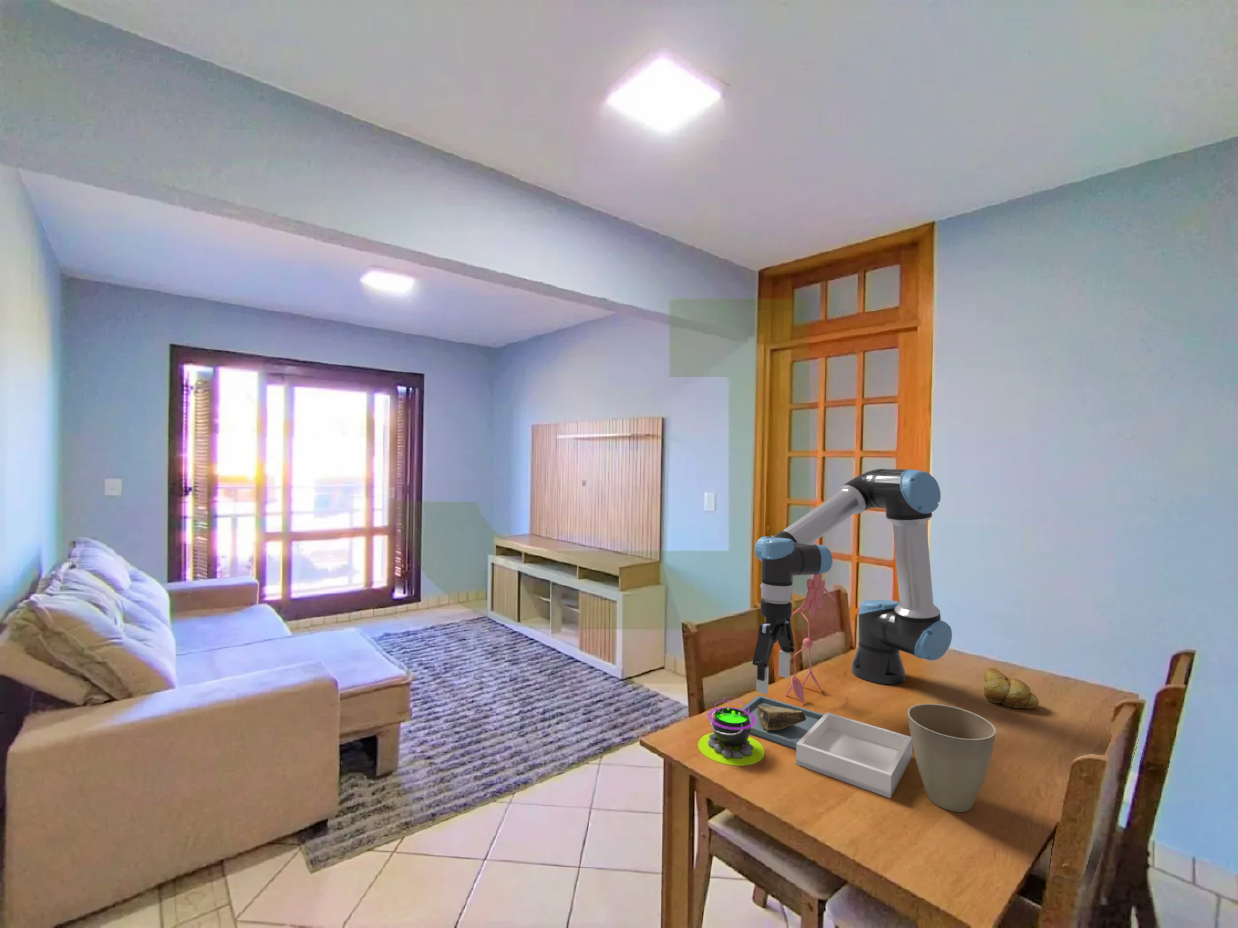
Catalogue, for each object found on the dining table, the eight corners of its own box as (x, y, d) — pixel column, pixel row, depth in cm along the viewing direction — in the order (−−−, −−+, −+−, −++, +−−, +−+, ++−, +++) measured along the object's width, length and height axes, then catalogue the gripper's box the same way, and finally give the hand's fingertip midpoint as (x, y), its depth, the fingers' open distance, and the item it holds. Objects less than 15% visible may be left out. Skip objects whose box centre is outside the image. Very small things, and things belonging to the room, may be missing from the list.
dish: (826, 730, 138) (826, 711, 138) (911, 756, 126) (912, 737, 126) (795, 763, 122) (796, 743, 122) (890, 798, 110) (891, 775, 110)
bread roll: (1041, 706, 154) (1041, 677, 154) (1034, 717, 147) (1035, 686, 147) (986, 691, 163) (987, 664, 163) (977, 701, 156) (978, 673, 156)
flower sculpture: (767, 703, 152) (770, 575, 152) (811, 678, 170) (813, 563, 170) (822, 723, 141) (825, 585, 141) (862, 694, 160) (865, 571, 159)
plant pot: (915, 770, 120) (917, 696, 120) (998, 798, 111) (1000, 718, 111) (896, 802, 109) (898, 720, 109) (987, 836, 99) (990, 747, 99)
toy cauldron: (686, 738, 133) (687, 691, 133) (740, 728, 138) (741, 683, 138) (719, 771, 119) (720, 719, 119) (778, 759, 124) (779, 709, 124)
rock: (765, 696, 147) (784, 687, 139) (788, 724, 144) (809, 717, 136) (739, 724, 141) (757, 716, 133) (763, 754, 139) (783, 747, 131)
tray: (758, 700, 154) (758, 694, 154) (828, 721, 142) (828, 715, 142) (726, 725, 139) (726, 719, 139) (801, 751, 127) (801, 744, 127)
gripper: (781, 589, 153) (778, 667, 153) (740, 606, 133) (737, 695, 133) (808, 594, 148) (805, 674, 148) (770, 612, 129) (766, 704, 129)
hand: (773, 684), depth 141 cm, fingers open, 13 cm apart
